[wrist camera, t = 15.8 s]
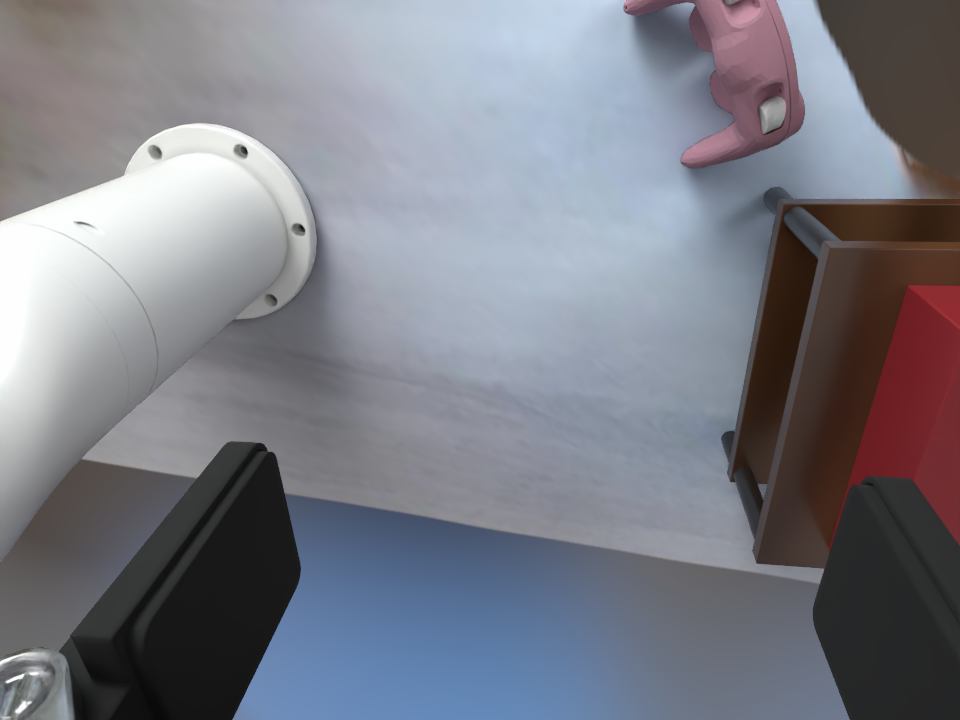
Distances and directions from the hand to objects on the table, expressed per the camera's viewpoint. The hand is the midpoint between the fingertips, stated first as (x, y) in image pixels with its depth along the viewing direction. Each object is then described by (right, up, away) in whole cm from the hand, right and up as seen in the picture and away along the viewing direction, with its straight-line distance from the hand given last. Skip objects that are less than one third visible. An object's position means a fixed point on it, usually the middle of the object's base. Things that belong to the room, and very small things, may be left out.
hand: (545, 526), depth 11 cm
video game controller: (+11, +19, +23) cm, 32 cm away
